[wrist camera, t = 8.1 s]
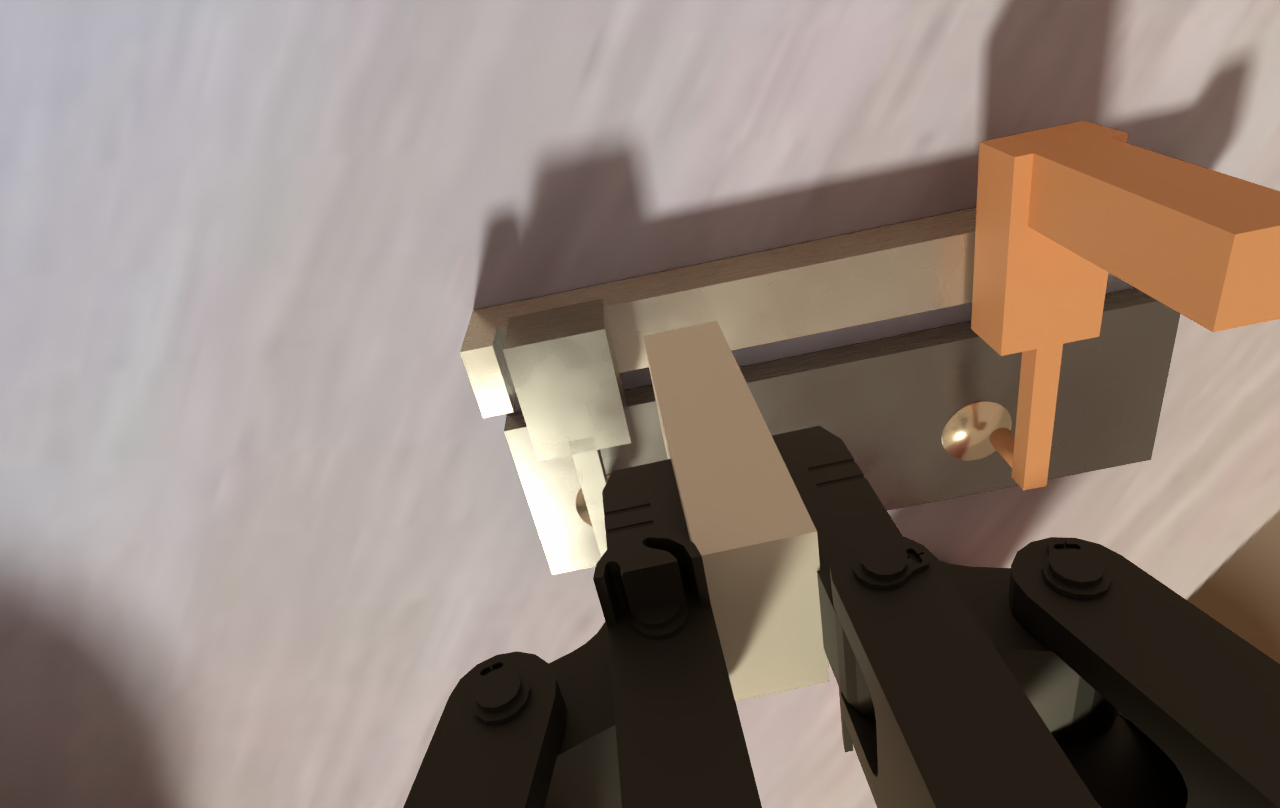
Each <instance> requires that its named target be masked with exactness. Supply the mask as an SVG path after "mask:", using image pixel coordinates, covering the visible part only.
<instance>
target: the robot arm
mask: <svg viewBox="0 0 1280 808" xmlns="http://www.w3.org/2000/svg"><path fill="white" fill-rule="evenodd" d="M643 340H644V345H645V350H646V355H647V360H648V365H649V370H650V375H651V380H652V385H653V390H654V394H655V399H656V404H657V409H658V414H659V419H660V424H661V429H662V434H663V439H664V444H665V449H666V453H667V458H668V459H667V460H663V461H658V462H653V463H648V464H643V465H639V466H634V467H629V468H624V469H620V470H615V471H612V473H611V475H610V477H609V479H608V481H607V483H606V485H605V487H604V489H603V491H602V497H603V508H604V516H605V517H604V520H605V531H606V543H607V550H606V552H605V553H604V554H603V556H602V557H601V558H600V560H599V561H598V562H597V564H596V568H595V573H594V578H593V579H594V583H595V586H596V590H597V593H598V597H599V600H600V604H601V607H602V610H603V614H604V617H605V621H606V622H605V623H604V625H603V626H602V627H601V629H600V630H599V632H598V633H597V634H596V635H595V636H594V637H593V638H592V639H590V640H589V641H588V642H587V643H586V644H584V645H583V646H581V647H580V648H578V649H576V650H575V651H573V652H571V653H569V654H567V655H565V656H563V657H561V658H559V659H557V660H555V661H553V662H551V663H549V664H548V663H547V662H545V661H544V660H542V659H541V658H539V657H538V656H536V655H535V654H528V653H522V652H512V653H506V654H501V655H496V656H494V657H492V658H490V659H488V660H486V661H484V662H482V663H480V664H478V665H476V666H475V667H474V668H473V669H472V670H471V671H469V672H468V673H467V674H466V675H465V676H464V677H463V678H461V679H460V681H459V682H458V684H457V686H456V687H455V689H454V690H453V692H452V693H451V695H450V697H449V699H448V701H447V704H446V706H445V709H444V711H443V713H442V716H441V718H440V721H439V723H438V725H437V728H436V730H435V733H434V735H433V737H432V740H431V742H430V745H429V747H428V750H427V752H426V754H425V757H424V759H423V762H422V764H421V766H420V769H419V771H418V774H417V776H416V779H415V781H414V783H413V786H412V788H411V791H410V793H409V795H408V798H407V800H406V803H405V805H404V807H403V808H762V806H761V802H760V798H759V794H758V790H757V786H756V782H755V778H754V774H753V771H752V767H751V763H750V759H749V755H748V751H747V747H746V743H745V739H744V735H743V731H742V727H741V723H740V719H739V715H738V711H737V707H736V703H735V701H737V700H742V699H747V698H751V697H756V696H761V695H766V694H771V693H776V692H781V691H785V690H790V689H795V688H800V687H805V686H810V685H814V684H819V683H824V682H829V681H830V678H829V666H828V660H829V663H830V665H831V668H832V670H833V673H834V675H835V678H836V680H837V683H838V685H839V694H840V708H841V721H842V734H843V742H844V749H845V752H848V751H853V745H854V748H855V750H856V753H857V756H858V758H859V761H860V763H861V766H862V769H863V771H864V774H865V776H866V779H867V782H868V784H869V787H870V789H871V792H872V795H873V797H874V800H875V802H876V805H877V808H1280V664H1279V663H1277V662H1276V661H1274V660H1273V659H1271V658H1270V657H1268V656H1267V655H1266V654H1264V653H1263V652H1261V651H1260V650H1258V649H1257V648H1255V647H1254V646H1252V645H1251V644H1249V643H1248V642H1247V641H1245V640H1244V639H1242V638H1241V637H1239V636H1238V635H1236V634H1235V633H1234V632H1232V631H1230V630H1229V629H1228V628H1226V627H1225V626H1223V625H1222V624H1220V623H1219V622H1217V621H1216V620H1215V619H1213V618H1212V617H1210V616H1209V615H1207V614H1206V613H1204V612H1203V611H1201V610H1200V609H1198V608H1197V607H1196V606H1194V605H1193V604H1191V603H1190V602H1188V601H1187V600H1185V599H1184V598H1183V597H1181V596H1180V595H1178V594H1177V593H1175V592H1174V591H1172V590H1171V589H1169V588H1168V587H1167V586H1165V585H1164V584H1162V583H1161V582H1159V581H1158V580H1156V579H1155V578H1153V577H1152V576H1150V575H1149V574H1148V573H1146V572H1145V571H1143V570H1142V569H1140V568H1139V567H1137V566H1136V565H1134V564H1133V563H1132V562H1130V561H1129V560H1127V559H1126V558H1124V557H1123V556H1121V555H1120V554H1118V553H1116V552H1114V551H1112V550H1110V549H1108V548H1106V547H1104V546H1102V545H1100V544H1097V543H1093V542H1089V541H1085V540H1081V539H1077V538H1055V537H1051V538H1047V539H1043V540H1038V541H1034V542H1031V543H1029V544H1028V545H1027V546H1025V547H1024V548H1022V549H1021V550H1019V551H1018V552H1017V554H1016V556H1015V558H1014V561H1013V563H1012V565H1011V568H986V567H967V566H958V565H952V564H948V563H944V562H941V561H938V560H937V558H936V557H935V556H934V555H933V554H932V553H931V552H930V551H929V550H928V549H927V548H926V547H925V546H923V545H921V544H919V543H917V542H915V541H913V540H911V539H908V538H906V537H903V536H902V535H901V533H900V531H899V530H898V528H897V527H896V525H895V523H894V522H893V520H892V519H891V517H890V515H889V514H888V512H887V511H886V509H885V507H884V506H883V504H882V503H881V501H880V499H879V498H878V496H877V495H876V493H875V491H874V490H873V488H872V487H871V485H870V484H869V482H868V480H867V479H866V478H864V474H863V472H862V471H861V469H860V468H859V466H858V464H857V463H856V462H854V458H853V456H852V455H851V453H850V452H849V450H848V448H847V447H846V445H845V444H844V442H843V440H842V439H840V438H839V437H837V436H836V435H834V434H832V433H831V432H829V431H827V430H826V429H824V428H823V427H821V426H815V427H810V428H805V429H801V430H796V431H791V432H786V433H781V434H777V435H771V433H770V431H769V429H768V427H767V425H766V423H765V421H764V419H763V417H762V414H761V412H760V410H759V408H758V406H757V404H756V402H755V400H754V398H753V395H752V393H751V391H750V389H749V387H748V385H747V383H746V381H745V379H744V376H743V374H742V372H741V370H740V368H739V366H738V364H737V362H736V360H735V358H734V355H733V353H732V351H731V349H730V347H729V345H728V343H727V341H726V339H725V336H724V334H723V332H722V330H721V328H720V326H719V324H718V322H717V321H712V322H707V323H702V324H698V325H693V326H688V327H683V328H679V329H674V330H669V331H665V332H660V333H655V334H650V335H646V336H643Z"/></svg>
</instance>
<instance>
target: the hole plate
mask: <svg viewBox="0 0 1280 808" xmlns="http://www.w3.org/2000/svg"><path fill="white" fill-rule="evenodd" d="M1179 318H1180V313H1179V312H1177V311H1175V310H1173V309H1172V308H1170V307H1168V306H1166V305H1165V304H1163V303H1161V302H1159V301H1158V300H1156V299H1154V298H1152V297H1151V296H1149V295H1147V294H1145V293H1144V292H1142V291H1140V290H1138V289H1137V288H1134V289H1129V290H1124V291H1119V292H1114V293H1109V294H1105V300H1104V307H1103V314H1102V321H1101V328H1100V335H1099V337H1095V338H1090V339H1084V340H1079V341H1074V342H1069V343H1064V344H1063V349H1062V358H1061V366H1060V375H1059V384H1058V392H1057V401H1056V409H1055V418H1054V426H1053V435H1052V444H1051V452H1050V461H1049V469H1048V478H1047V480H1048V479H1053V478H1058V477H1063V476H1068V475H1074V474H1079V473H1084V472H1089V471H1094V470H1100V469H1105V468H1110V467H1115V466H1120V465H1126V464H1131V463H1136V462H1141V461H1146V460H1151V456H1152V451H1153V446H1154V441H1155V437H1156V432H1157V427H1158V422H1159V417H1160V412H1161V407H1162V402H1163V397H1164V392H1165V387H1166V382H1167V377H1168V372H1169V367H1170V362H1171V357H1172V352H1173V347H1174V342H1175V337H1176V332H1177V327H1178V323H1179ZM1021 359H1022V352H1019V353H1014V354H1009V355H1004V356H1000V355H999V354H998V353H997V352H996V351H995V350H994V349H993V348H992V347H990V346H989V345H988V344H987V343H986V342H985V341H984V340H983V339H982V338H981V337H979V336H978V335H977V334H976V333H975V332H974V331H973V330H972V329H971V321H969V322H964V323H959V324H954V325H949V326H944V327H939V328H934V329H929V330H924V331H919V332H914V333H909V334H904V335H899V336H894V337H889V338H884V339H879V340H874V341H869V342H864V343H859V344H854V345H849V346H844V347H839V348H834V349H829V350H824V351H819V352H814V353H809V354H804V355H799V356H794V357H789V358H784V359H779V360H774V361H769V362H764V363H759V364H754V365H749V366H744V367H739V368H740V370H741V372H742V374H743V376H744V379H745V381H746V383H747V385H748V387H749V389H750V391H751V393H752V395H753V398H754V400H755V402H756V404H757V406H758V408H759V410H760V412H761V414H762V417H763V419H764V421H765V423H766V425H767V427H768V429H769V431H770V433H771V435H777V434H781V433H786V432H791V431H796V430H801V429H805V428H810V427H815V426H821V427H823V428H824V429H826V430H827V431H829V432H831V433H832V434H834V435H836V436H837V437H839V438H840V439H842V440H843V442H844V444H845V445H846V447H847V448H848V450H849V452H850V453H851V455H852V456H853V458H854V462H856V463H857V464H858V466H859V468H860V469H861V471H862V472H863V474H864V478H866V479H867V480H868V482H869V484H870V485H871V487H872V488H873V490H874V491H875V493H876V495H877V496H878V498H879V499H880V501H881V503H882V504H883V506H884V507H885V509H886V511H887V510H892V509H897V508H902V507H908V506H913V505H918V504H923V503H928V502H933V501H939V500H944V499H949V498H954V497H959V496H965V495H970V494H975V493H980V492H985V491H991V490H996V489H1001V488H1006V487H1011V486H1017V485H1018V484H1017V483H1016V482H1015V480H1014V479H1013V478H1012V477H1011V476H1012V467H1011V466H1010V465H1009V464H1008V463H1007V462H1006V460H1005V459H1004V458H1003V457H1002V456H1001V455H1000V454H999V452H998V451H997V450H996V449H995V448H994V447H993V446H992V444H991V443H990V441H989V437H990V435H991V433H992V432H993V431H995V430H996V429H998V428H1007V429H1009V430H1010V431H1011V432H1012V433H1013V434H1014V435H1015V430H1016V418H1017V406H1018V394H1019V383H1020V371H1021ZM624 395H625V399H626V403H627V409H628V418H629V427H630V436H631V443H629V444H624V445H619V446H614V447H609V448H604V449H600V452H601V456H602V460H603V463H604V467H605V471H606V475H607V479H609V477H610V475H611V473H612V471H615V470H620V469H624V468H629V467H634V466H639V465H643V464H648V463H653V462H658V461H663V460H667V459H668V458H667V453H666V449H665V444H664V439H663V434H662V429H661V424H660V419H659V414H658V409H657V404H656V399H655V394H654V390H653V385H649V386H644V387H639V388H634V389H629V390H624ZM504 432H505V435H506V438H507V441H508V444H509V447H510V450H511V453H512V456H513V459H514V462H515V465H516V468H517V471H518V474H519V477H520V480H521V483H522V486H523V489H524V492H525V495H526V498H527V501H528V504H529V507H530V510H531V513H532V516H533V519H534V522H535V525H536V528H537V531H538V534H539V537H540V540H541V543H542V546H543V549H544V552H545V555H546V558H547V561H548V564H549V567H550V569H551V572H552V575H554V574H560V573H565V572H570V571H575V570H580V569H586V568H591V567H596V564H597V562H598V561H599V560H600V558H601V555H600V551H599V548H598V544H597V541H596V537H595V534H594V530H593V527H592V523H591V520H590V516H589V513H588V509H587V506H586V502H585V499H584V495H583V492H582V488H581V485H580V481H579V478H578V474H577V471H576V467H575V464H574V460H573V457H572V455H569V456H564V457H559V458H554V459H549V460H543V461H537V457H536V454H535V451H534V448H533V445H532V442H531V438H530V435H529V432H528V429H527V426H526V423H525V419H524V416H523V413H522V411H519V412H514V413H509V414H507V417H506V423H505V429H504Z"/></svg>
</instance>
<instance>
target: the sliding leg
mask: <svg viewBox="0 0 1280 808" xmlns="http://www.w3.org/2000/svg"><path fill="white" fill-rule="evenodd" d="M1127 140H1128V133H1124V132H1121V131H1118V130H1114V129H1111V128H1107V127H1104V126H1101V125H1097V124H1094V123H1091V122H1087V121H1079V122H1074V123H1069V124H1065V125H1060V126H1055V127H1050V128H1045V129H1040V130H1036V131H1031V132H1026V133H1021V134H1016V135H1012V136H1007V137H1002V138H997V139H992V140H987V141H983V142H979V164H978V186H977V208H976V231H975V253H974V275H973V297H972V319H971V329H972V330H973V331H974V332H975V333H976V334H977V335H978V336H979V337H981V338H982V339H983V340H984V341H985V342H986V343H987V344H988V345H989V346H990V347H992V348H993V349H994V350H995V351H996V352H997V353H998V354H999V355H1000V356H1004V355H1009V354H1014V353H1019V352H1022V359H1021V371H1020V383H1019V394H1018V406H1017V418H1016V430H1015V435H1014V434H1013V433H1012V432H1011V431H1010V430H1009V429H1007V428H998V429H996V430H995V431H993V432H992V433H991V435H990V437H989V441H990V443H991V444H992V446H993V447H994V448H995V449H996V450H997V451H998V452H999V454H1000V455H1001V456H1002V457H1003V458H1004V459H1005V460H1006V462H1007V463H1008V464H1009V465H1010V466H1011V467H1012V476H1011V477H1012V478H1013V479H1014V480H1015V482H1016V483H1017V484H1018V485H1019V486H1020V487H1021V489H1022V490H1023V491H1024V490H1029V489H1034V488H1039V487H1044V486H1047V478H1048V469H1049V461H1050V452H1051V444H1052V435H1053V426H1054V418H1055V409H1056V401H1057V392H1058V384H1059V375H1060V366H1061V358H1062V349H1063V344H1064V343H1069V342H1074V341H1079V340H1084V339H1090V338H1095V337H1099V335H1100V328H1101V321H1102V314H1103V307H1104V300H1105V293H1106V286H1107V279H1108V273H1110V274H1112V275H1114V276H1115V277H1117V278H1119V279H1121V280H1123V281H1124V282H1126V283H1128V284H1130V285H1131V286H1133V287H1135V288H1137V289H1138V290H1140V291H1142V292H1144V293H1145V294H1147V295H1149V296H1151V297H1152V298H1154V299H1156V300H1158V301H1159V302H1161V303H1163V304H1165V305H1166V306H1168V307H1170V308H1172V309H1173V310H1175V311H1177V312H1179V313H1180V314H1182V315H1184V316H1186V317H1187V318H1189V319H1191V320H1193V321H1194V322H1196V323H1198V324H1200V325H1201V326H1203V327H1205V328H1207V329H1208V330H1210V331H1212V332H1215V331H1220V330H1226V329H1231V328H1236V327H1241V326H1246V325H1251V324H1256V323H1261V322H1266V321H1271V320H1276V319H1280V191H1277V190H1273V189H1270V188H1267V187H1264V186H1261V185H1258V184H1254V183H1251V182H1248V181H1245V180H1242V179H1239V178H1235V177H1232V176H1229V175H1226V174H1223V173H1220V172H1216V171H1213V170H1210V169H1207V168H1204V167H1201V166H1197V165H1194V164H1191V163H1188V162H1185V161H1182V160H1178V159H1175V158H1172V157H1169V156H1166V155H1163V154H1159V153H1156V152H1153V151H1150V150H1147V149H1144V148H1140V147H1137V146H1134V145H1131V144H1128V143H1127Z"/></svg>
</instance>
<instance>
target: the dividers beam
mask: <svg viewBox="0 0 1280 808" xmlns="http://www.w3.org/2000/svg"><path fill="white" fill-rule="evenodd" d="M976 208H977V207H976ZM976 208H971V209H967V210H962V211H957V212H952V213H947V214H942V215H937V216H932V217H928V218H923V219H918V220H913V221H908V222H903V223H898V224H893V225H888V226H884V227H879V228H874V229H869V230H864V231H859V232H854V233H849V234H845V235H840V236H835V237H830V238H825V239H820V240H815V241H810V242H805V243H801V244H796V245H791V246H786V247H781V248H776V249H771V250H766V251H762V252H757V253H752V254H747V255H742V256H737V257H732V258H727V259H723V260H718V261H713V262H708V263H703V264H698V265H693V266H688V267H683V268H679V269H674V270H669V271H664V272H659V273H654V274H649V275H644V276H640V277H635V278H630V279H625V280H620V281H615V282H610V283H605V284H600V285H596V286H591V287H586V288H581V289H576V290H571V291H566V292H561V293H557V294H552V295H547V296H542V297H537V298H532V299H527V300H522V301H517V302H513V303H508V304H503V305H498V306H493V307H488V308H483V309H478V310H474V311H473V312H472V315H471V319H470V322H469V325H468V328H467V332H466V335H465V338H464V341H463V345H462V348H461V351H460V353H461V356H462V359H463V362H464V365H465V368H466V371H467V373H468V376H469V379H470V382H471V385H472V388H473V391H474V393H475V396H476V399H477V402H478V405H479V408H480V411H481V413H482V416H483V418H487V417H492V416H497V415H502V414H507V413H512V412H514V407H515V400H516V394H517V397H518V400H519V404H520V407H521V410H522V413H523V416H524V419H525V423H526V426H527V429H528V432H529V435H530V438H531V442H532V445H533V448H534V451H535V454H536V457H537V461H543V460H549V459H554V458H559V457H564V456H569V455H572V457H573V460H574V464H575V467H576V471H577V474H578V478H579V481H580V485H581V488H582V492H583V495H584V499H585V502H586V506H587V509H588V513H589V516H590V520H591V523H592V527H593V530H594V534H595V537H596V541H597V544H598V548H599V551H600V555H601V557H602V556H603V554H604V553H605V552H606V550H607V543H606V531H605V520H604V517H605V516H604V508H603V497H602V491H603V489H604V487H605V485H606V483H607V481H608V479H607V475H606V471H605V467H604V463H603V460H602V456H601V452H600V449H604V448H609V447H614V446H619V445H624V444H629V443H631V436H630V427H629V418H628V409H627V403H626V399H625V395H624V390H623V386H622V382H621V377H620V373H622V372H627V371H632V370H637V369H642V368H647V367H649V365H648V360H647V355H646V350H645V345H644V340H643V336H646V335H650V334H655V333H660V332H665V331H669V330H674V329H679V328H683V327H688V326H693V325H698V324H702V323H707V322H712V321H717V322H718V324H719V326H720V328H721V330H722V332H723V334H724V336H725V339H726V341H727V343H728V345H729V347H730V349H731V351H732V350H737V349H742V348H747V347H752V346H757V345H762V344H767V343H772V342H777V341H782V340H787V339H792V338H796V337H801V336H806V335H811V334H816V333H821V332H826V331H831V330H836V329H841V328H846V327H851V326H856V325H861V324H866V323H871V322H876V321H881V320H886V319H891V318H896V317H901V316H906V315H911V314H916V313H921V312H926V311H931V310H936V309H941V308H946V307H951V306H956V305H961V304H966V303H971V302H972V297H973V275H974V253H975V231H976ZM1108 275H1110V273H1108Z"/></svg>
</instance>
